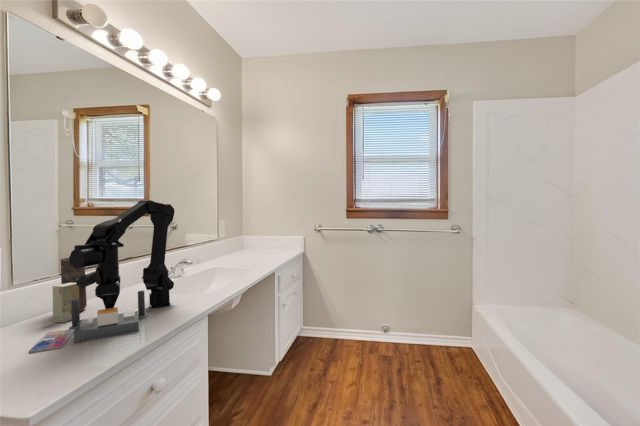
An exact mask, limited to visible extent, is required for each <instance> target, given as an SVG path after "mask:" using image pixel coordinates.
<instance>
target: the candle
mask: <svg viewBox="0 0 640 426" xmlns="http://www.w3.org/2000/svg"><path fill="white" fill-rule="evenodd" d="M84 274H86V267H82V268H74V267H73V266H72V265H71V264H70V261H69V257H64V258H60V281H61V282H60V285H61V284H66V283H76V281H75V280H76V279H77V278H79V276H82V275H84ZM87 305H88V304H87V286H86V287H85V288H83V289H79V312H81V311H83V310H84V309H86V308H87Z"/></svg>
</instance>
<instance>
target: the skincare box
mask: <svg viewBox="0 0 640 426" xmlns="http://www.w3.org/2000/svg"><path fill="white" fill-rule="evenodd" d="M74 299H79V287H78V286H77V283H66V284H61V283H60V284H58V285H53V286H52V323H61V324H62V323H66V322H69V321H72V311H71V300H74Z"/></svg>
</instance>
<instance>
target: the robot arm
mask: <svg viewBox="0 0 640 426" xmlns="http://www.w3.org/2000/svg"><path fill="white" fill-rule="evenodd" d="M145 215H150V217H149V218H150V222H151V223H152V225H153V231H152V242H151V243H152V244H151V251H150V252H151V254H150V262H149V265H147V267H144V268H143V269H142V277H141V279H142V282H143V284H144V285H145V286H144V287H145V289H146V290H147V291H150V293H149V294H148V295H149V297H148V299H149V302H148V303H149V306H150V308H151V309H155V308H162V307H166V306H171V302H170V300H171V299H170V291H172V289H174V286H175V282H174V281H173V280H172V279H171V278H170V277H169V270H168V268H167V266H166V263H165V261H166V260H165V259H166V250H167V241H168V240H167V239H168V230H169V226H170V224H172V222H173V220H174V216H175V208H174V207H173V205H171V204H169V203H167V204H166V203H165V204H164V203H162V202H158V201H157V202H156V201H154V200H151V199H141V200H139V201H138V202H137V203H136V204H134V205H133V206H131V207H130V208H128V209H127V210H125V211H124V212H123V213H120V214H119V215H118V216H116V217H115V218H112V219H109V220H104V221H102V222H101V223H98V224H95V226H93V228H92V232H91V234H90V235H89V237H88V238H87V240H86V241H85V243H84V244H77V245H74V247H73V248H74V249H73V250H71V252H70V255H69V257H68V258H69V261H70V264H71V265H72V266H73V267H74V268H82V267H85V268H88V267H92V266H96V268H95V270H94V271H91V272H89V273H87V274H86V273H85V274H84V275H82V276H79V278H77V279H76V280H75V281H76V283H77V286H78V287H79V289H83V288H85V287H86V288H87V287H89V286H91V285H93V284H95V283H96V286H95V289H94V292H95V293H94V294H95V295H94V296H96V297H97V298H99V299H100V300H102V303H103V305H104V308H105V309H109V308H115V307H116V303H117V301H118V299H119V296H120V292H121V275H120V265H119V264H120V263H119V248H123V247H124V246H125V244H123V243H122V242H121V241H119V240H120V239H121V238H122V237H123V236H124V235H125V233H126V231H127V230H126V229H128V227H130V226H131V225H132V224H134V223H135V222H137V221H138V220H139V219H141V218H142V217H144V216H145Z"/></svg>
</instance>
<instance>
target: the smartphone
mask: <svg viewBox="0 0 640 426" xmlns="http://www.w3.org/2000/svg"><path fill="white" fill-rule="evenodd" d="M74 331H75V329H69V328H68V329H64V330H63V329H62V330H55V331H49V332H46V334H44V336H42V337H41V338H40V339H39V340H38V341H37V342H36V343H35V344H34V345H33V346H31V348H30V349H29V350H28V353H29V354H36V353H42V352H49V351H54V350H59V349H62V348H63V347H65V345H66V344H67V343H68V341H69V340H70V338H71V337H72V336H74Z"/></svg>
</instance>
